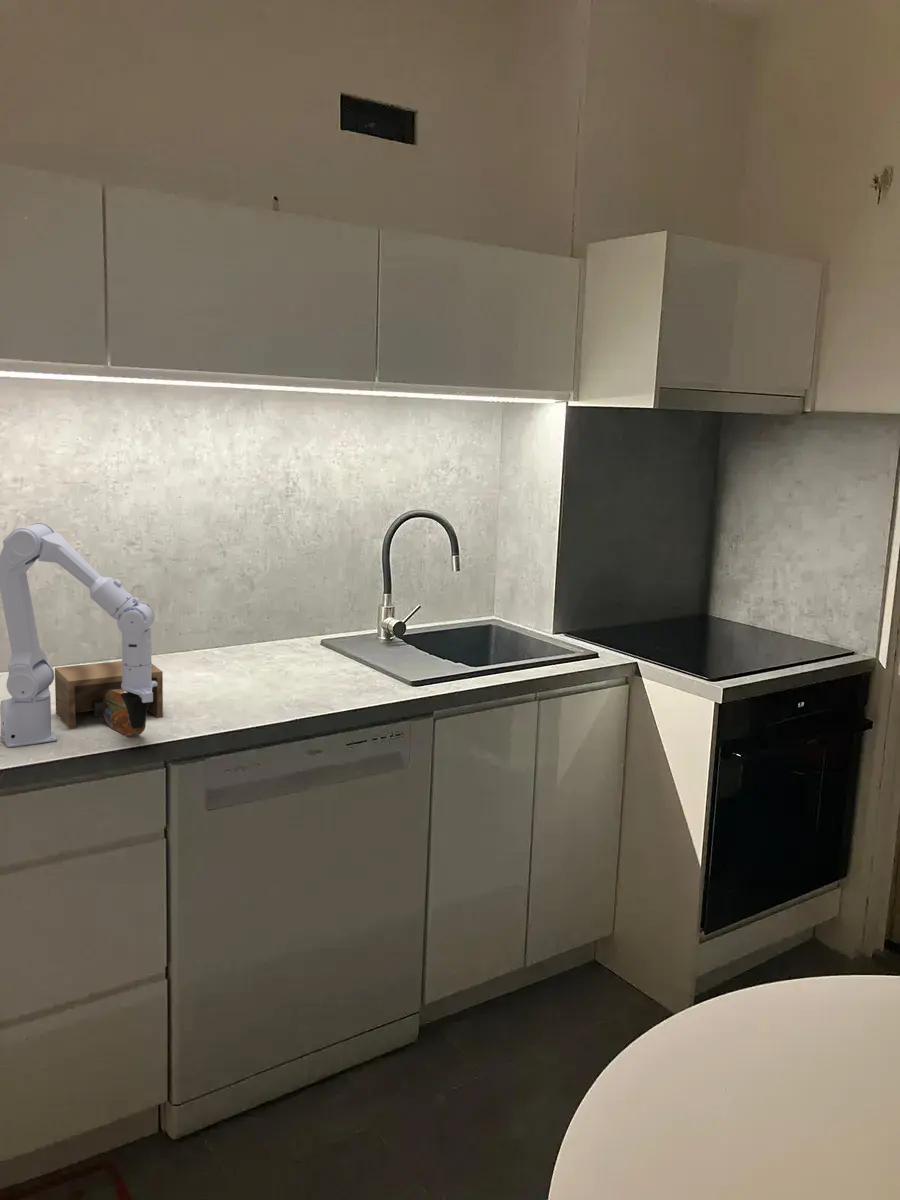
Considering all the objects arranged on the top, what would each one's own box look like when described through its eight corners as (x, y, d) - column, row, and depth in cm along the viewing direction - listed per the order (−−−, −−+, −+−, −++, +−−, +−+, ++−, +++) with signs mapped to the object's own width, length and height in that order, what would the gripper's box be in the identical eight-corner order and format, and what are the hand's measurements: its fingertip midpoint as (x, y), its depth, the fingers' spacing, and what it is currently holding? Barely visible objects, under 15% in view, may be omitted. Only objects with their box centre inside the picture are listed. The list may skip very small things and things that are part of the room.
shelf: (69, 729, 214) (68, 681, 212) (55, 713, 224) (54, 667, 222) (162, 717, 225) (162, 671, 223) (145, 702, 235) (145, 658, 233)
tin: (101, 723, 219) (101, 685, 217) (115, 720, 221) (114, 683, 219) (135, 741, 208) (134, 702, 207) (149, 738, 211) (149, 699, 209)
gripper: (167, 669, 201) (168, 734, 203) (145, 653, 213) (146, 714, 215) (132, 673, 197) (132, 739, 199) (111, 656, 209) (112, 719, 211)
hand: (137, 727), depth 207 cm, fingers closed
